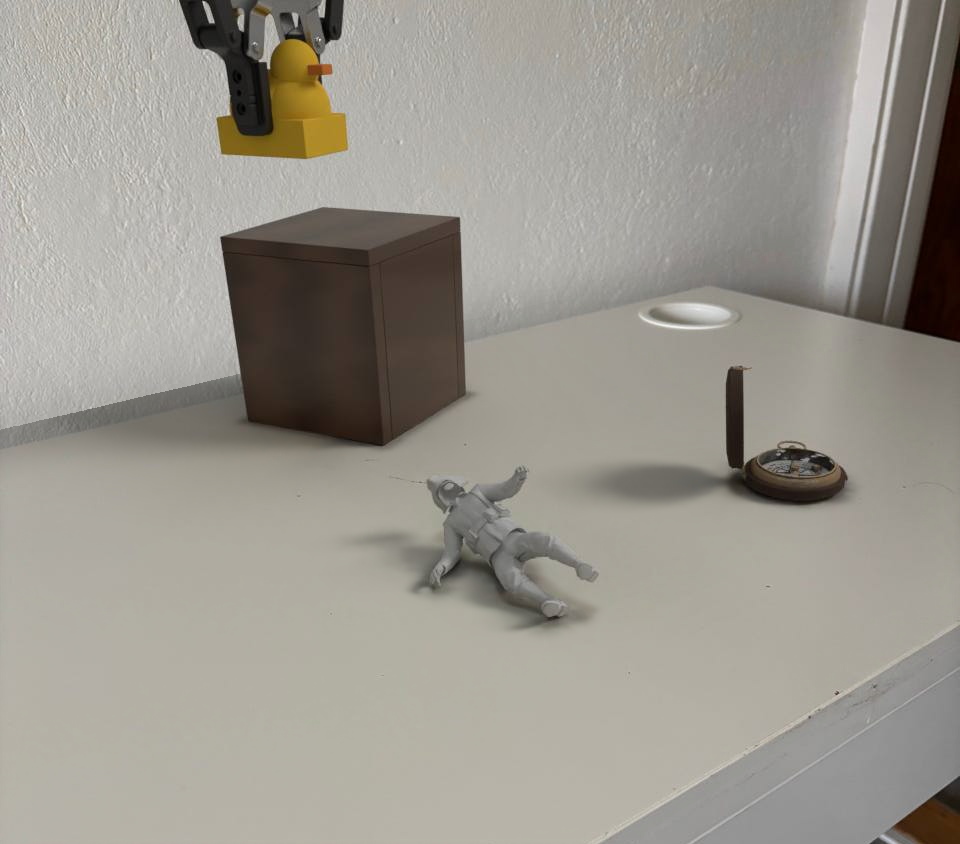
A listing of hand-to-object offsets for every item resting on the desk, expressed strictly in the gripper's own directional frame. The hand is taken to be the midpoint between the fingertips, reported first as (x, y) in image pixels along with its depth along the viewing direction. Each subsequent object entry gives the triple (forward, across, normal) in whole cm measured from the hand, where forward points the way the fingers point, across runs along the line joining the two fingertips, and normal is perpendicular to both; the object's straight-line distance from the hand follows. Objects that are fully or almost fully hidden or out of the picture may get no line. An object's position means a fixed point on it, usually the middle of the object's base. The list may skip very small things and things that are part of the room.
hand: (281, 128), depth 61 cm
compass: (+20, -8, +30) cm, 37 cm away
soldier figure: (+20, +11, +20) cm, 31 cm away
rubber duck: (+1, 0, 0) cm, 1 cm away
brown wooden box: (+20, -8, -2) cm, 21 cm away
